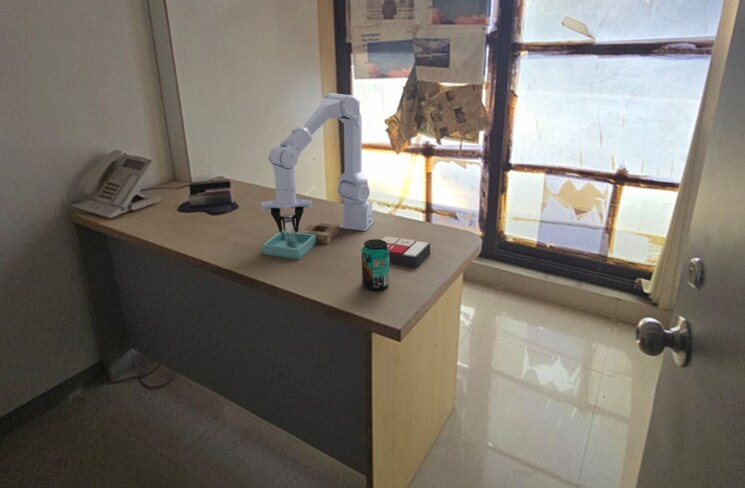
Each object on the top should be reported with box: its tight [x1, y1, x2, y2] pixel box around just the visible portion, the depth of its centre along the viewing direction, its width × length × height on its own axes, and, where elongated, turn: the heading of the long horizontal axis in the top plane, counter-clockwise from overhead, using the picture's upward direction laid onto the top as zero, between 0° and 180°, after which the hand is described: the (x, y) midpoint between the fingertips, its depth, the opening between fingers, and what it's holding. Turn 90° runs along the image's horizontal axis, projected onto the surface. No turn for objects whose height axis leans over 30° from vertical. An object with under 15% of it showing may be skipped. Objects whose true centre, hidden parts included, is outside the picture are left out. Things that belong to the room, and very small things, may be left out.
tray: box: [261, 229, 318, 260], centre depth 148 cm, size 12×12×3 cm
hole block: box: [300, 222, 339, 245], centre depth 156 cm, size 9×9×3 cm
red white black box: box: [381, 235, 431, 269], centre depth 143 cm, size 11×4×15 cm
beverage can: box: [361, 238, 390, 292], centre depth 125 cm, size 7×7×12 cm
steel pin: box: [280, 213, 298, 246], centre depth 146 cm, size 4×4×9 cm
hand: (289, 230), depth 146 cm, fingers closed on steel pin, 4 cm apart
